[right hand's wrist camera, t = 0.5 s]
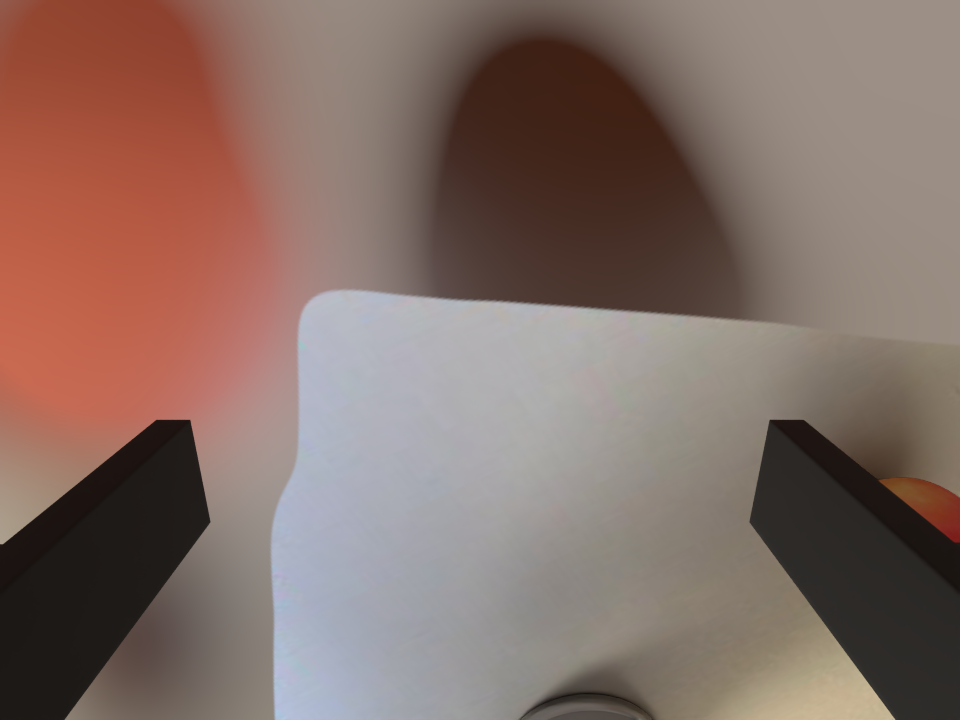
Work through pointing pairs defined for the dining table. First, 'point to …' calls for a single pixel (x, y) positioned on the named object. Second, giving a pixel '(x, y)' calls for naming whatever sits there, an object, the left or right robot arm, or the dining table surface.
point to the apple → (929, 503)
